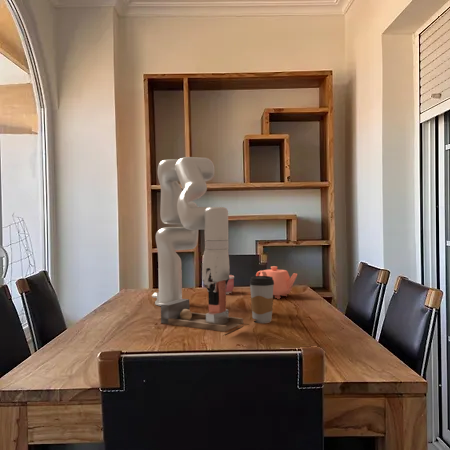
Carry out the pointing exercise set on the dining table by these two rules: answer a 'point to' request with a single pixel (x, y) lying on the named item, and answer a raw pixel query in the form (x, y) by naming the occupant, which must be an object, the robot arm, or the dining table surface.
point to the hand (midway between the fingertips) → (217, 302)
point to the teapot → (279, 280)
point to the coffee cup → (262, 298)
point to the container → (230, 284)
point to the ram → (219, 306)
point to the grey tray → (193, 317)
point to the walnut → (185, 314)
